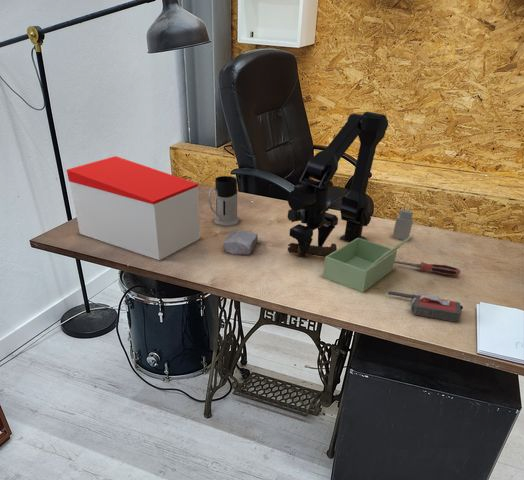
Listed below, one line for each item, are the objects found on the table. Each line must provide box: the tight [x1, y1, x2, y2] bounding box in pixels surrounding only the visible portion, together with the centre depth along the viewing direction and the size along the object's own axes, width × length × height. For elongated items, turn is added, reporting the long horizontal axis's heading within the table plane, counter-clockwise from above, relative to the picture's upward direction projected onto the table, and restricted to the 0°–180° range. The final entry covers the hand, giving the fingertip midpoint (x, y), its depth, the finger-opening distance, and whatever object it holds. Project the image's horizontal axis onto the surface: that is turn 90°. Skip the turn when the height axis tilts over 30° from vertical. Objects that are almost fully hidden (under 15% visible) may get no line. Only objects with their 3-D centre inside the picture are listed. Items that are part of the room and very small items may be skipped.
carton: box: [322, 238, 398, 293], centre depth 141 cm, size 19×14×6 cm
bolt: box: [287, 242, 338, 258], centre depth 150 cm, size 6×5×15 cm
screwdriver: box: [394, 260, 461, 277], centre depth 146 cm, size 25×3×3 cm, turn 72°
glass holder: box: [208, 175, 239, 227], centre depth 167 cm, size 9×14×15 cm, turn 148°
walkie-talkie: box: [386, 290, 464, 323], centre depth 126 cm, size 9×4×20 cm
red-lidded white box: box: [66, 155, 201, 261], centre depth 153 cm, size 21×35×21 cm, turn 59°
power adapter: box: [392, 203, 414, 241], centre depth 163 cm, size 3×5×12 cm, turn 62°
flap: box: [367, 234, 415, 269], centre depth 133 cm, size 19×7×1 cm
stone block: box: [222, 230, 259, 256], centre depth 154 cm, size 12×5×10 cm
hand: (311, 251), depth 150 cm, fingers open, 9 cm apart
